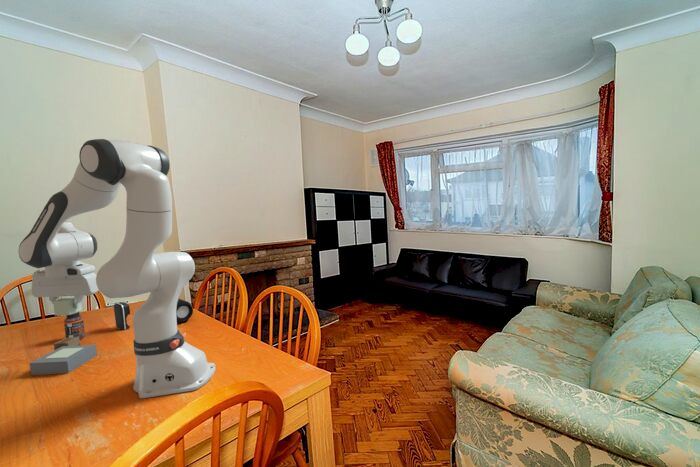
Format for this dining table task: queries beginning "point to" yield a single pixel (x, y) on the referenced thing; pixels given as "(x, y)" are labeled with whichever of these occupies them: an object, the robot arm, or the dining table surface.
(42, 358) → the base block
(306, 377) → the dining table surface
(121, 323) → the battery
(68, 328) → the supplement bottle
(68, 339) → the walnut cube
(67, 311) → the sage cube
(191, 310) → the portable speaker
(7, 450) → the dining table surface
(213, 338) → the dining table surface
